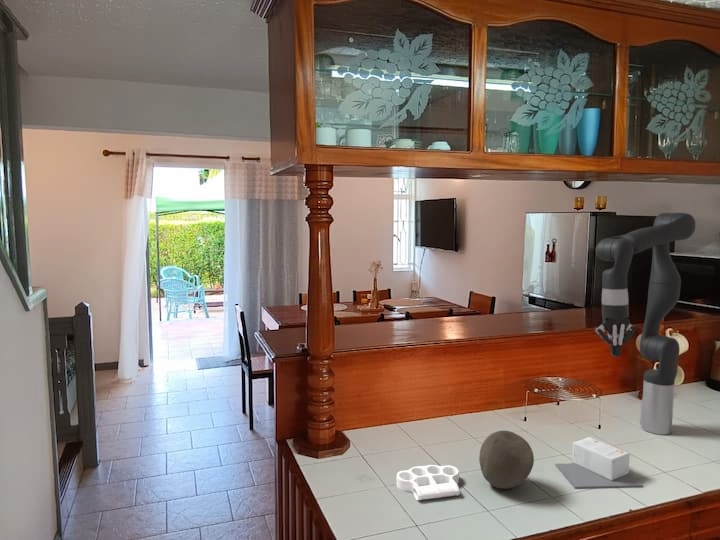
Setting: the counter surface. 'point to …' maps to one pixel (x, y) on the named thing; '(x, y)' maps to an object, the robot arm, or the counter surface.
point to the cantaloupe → (505, 459)
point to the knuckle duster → (429, 481)
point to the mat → (594, 478)
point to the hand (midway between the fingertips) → (615, 356)
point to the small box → (601, 458)
